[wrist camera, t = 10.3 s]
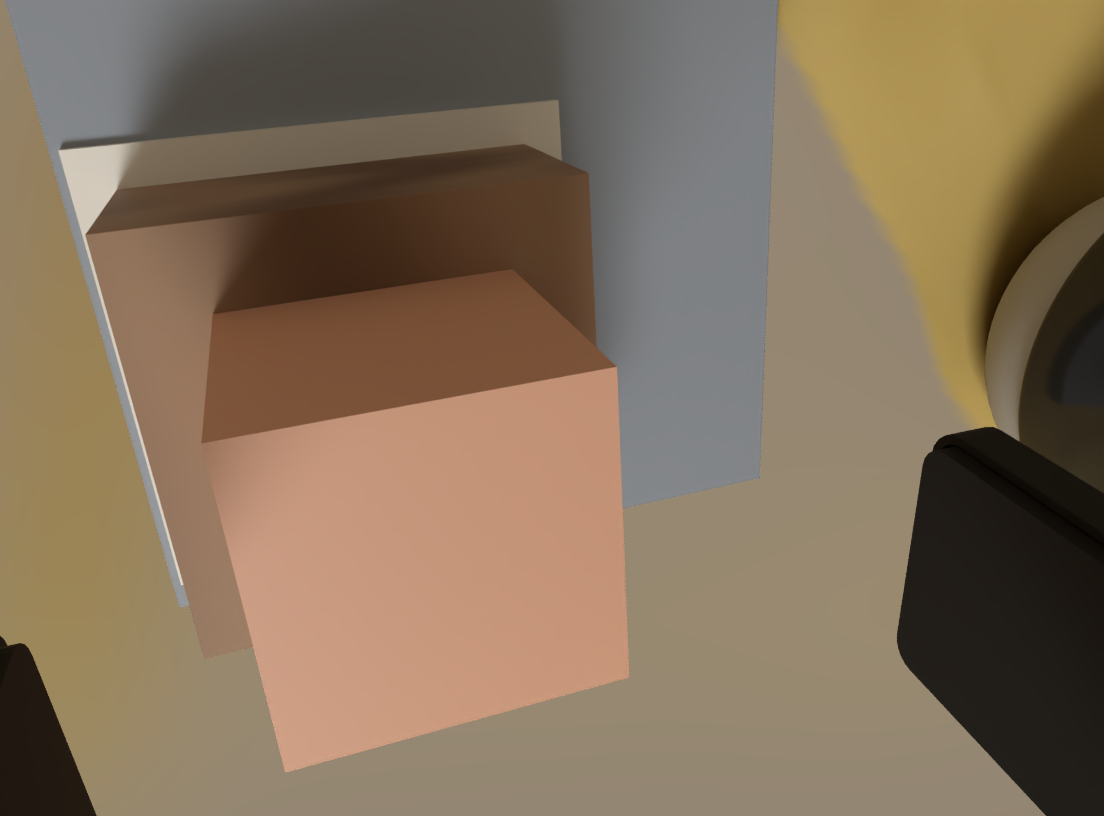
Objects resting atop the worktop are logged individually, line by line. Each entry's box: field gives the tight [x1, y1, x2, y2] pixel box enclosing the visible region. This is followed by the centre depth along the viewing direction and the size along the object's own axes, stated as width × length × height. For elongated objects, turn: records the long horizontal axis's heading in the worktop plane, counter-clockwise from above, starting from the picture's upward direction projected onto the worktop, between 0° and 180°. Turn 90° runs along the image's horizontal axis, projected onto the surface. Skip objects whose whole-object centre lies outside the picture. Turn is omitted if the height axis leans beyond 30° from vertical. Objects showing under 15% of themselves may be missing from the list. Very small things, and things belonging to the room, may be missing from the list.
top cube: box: [201, 269, 629, 772], centre depth 14 cm, size 5×5×5 cm
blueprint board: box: [5, 0, 778, 607], centre depth 19 cm, size 15×21×1 cm
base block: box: [85, 144, 597, 659], centre depth 18 cm, size 8×8×4 cm
